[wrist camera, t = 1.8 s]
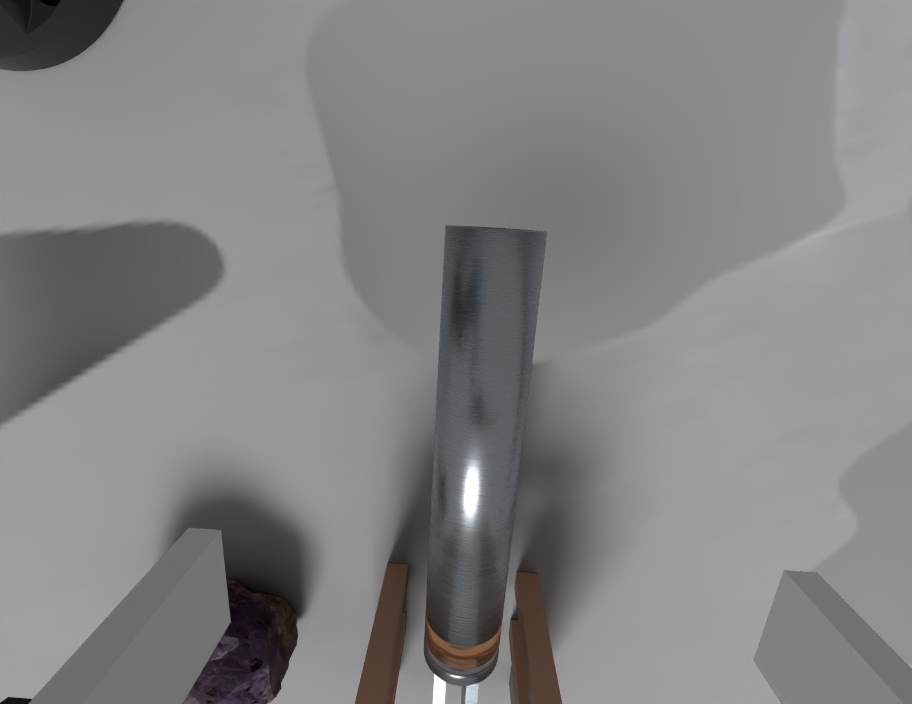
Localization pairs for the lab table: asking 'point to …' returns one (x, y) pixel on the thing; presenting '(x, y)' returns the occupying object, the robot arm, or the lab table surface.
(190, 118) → the lab table surface
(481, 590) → the tube
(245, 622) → the rock
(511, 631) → the collar
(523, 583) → the collar
